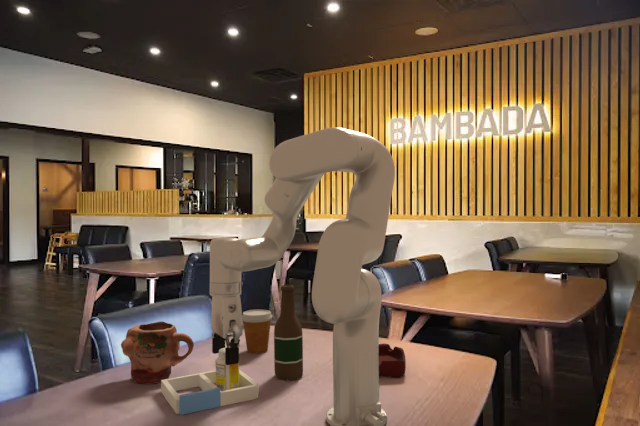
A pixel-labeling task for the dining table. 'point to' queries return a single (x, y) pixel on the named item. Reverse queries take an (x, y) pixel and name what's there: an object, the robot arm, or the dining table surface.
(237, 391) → the white divided tray
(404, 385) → the dining table surface
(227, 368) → the supplement bottle
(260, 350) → the disposable coffee cup
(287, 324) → the beer bottle
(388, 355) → the ashtray
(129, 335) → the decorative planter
